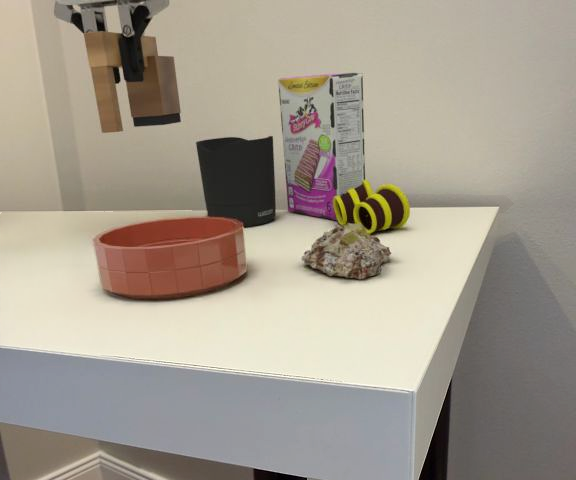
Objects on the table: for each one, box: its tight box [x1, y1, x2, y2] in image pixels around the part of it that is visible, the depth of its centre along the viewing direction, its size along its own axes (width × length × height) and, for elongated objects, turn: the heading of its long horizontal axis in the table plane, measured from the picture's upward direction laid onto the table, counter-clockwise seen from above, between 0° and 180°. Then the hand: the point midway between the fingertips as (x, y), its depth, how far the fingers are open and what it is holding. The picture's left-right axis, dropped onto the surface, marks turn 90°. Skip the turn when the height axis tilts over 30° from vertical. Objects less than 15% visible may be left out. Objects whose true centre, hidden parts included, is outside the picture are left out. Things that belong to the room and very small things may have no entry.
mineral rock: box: [301, 222, 392, 281], centre depth 60 cm, size 11×4×8 cm
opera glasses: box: [333, 179, 411, 235], centre depth 74 cm, size 10×5×5 cm, turn 22°
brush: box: [83, 31, 182, 134], centre depth 71 cm, size 14×4×9 cm, turn 166°
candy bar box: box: [277, 72, 366, 221], centre depth 82 cm, size 11×5×16 cm, turn 34°
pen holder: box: [195, 135, 277, 228], centre depth 82 cm, size 9×9×10 cm
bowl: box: [91, 215, 248, 300], centre depth 59 cm, size 13×13×4 cm
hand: (122, 81), depth 68 cm, fingers closed on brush, 2 cm apart
